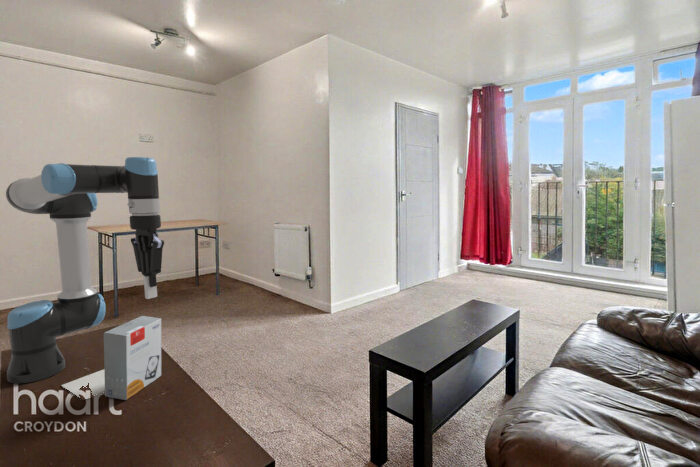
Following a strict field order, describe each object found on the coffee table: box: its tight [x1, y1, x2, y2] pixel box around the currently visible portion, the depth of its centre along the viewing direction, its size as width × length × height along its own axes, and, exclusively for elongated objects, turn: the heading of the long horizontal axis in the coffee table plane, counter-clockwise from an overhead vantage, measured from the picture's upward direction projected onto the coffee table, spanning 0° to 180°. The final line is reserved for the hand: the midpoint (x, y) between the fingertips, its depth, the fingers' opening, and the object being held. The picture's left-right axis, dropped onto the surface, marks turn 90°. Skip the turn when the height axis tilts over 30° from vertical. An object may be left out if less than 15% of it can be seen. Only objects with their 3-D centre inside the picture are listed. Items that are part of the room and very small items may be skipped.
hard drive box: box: [103, 315, 162, 401], centre depth 117 cm, size 16×8×20 cm, turn 169°
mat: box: [61, 368, 105, 399], centre depth 120 cm, size 15×15×1 cm
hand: (151, 297), depth 107 cm, fingers closed
